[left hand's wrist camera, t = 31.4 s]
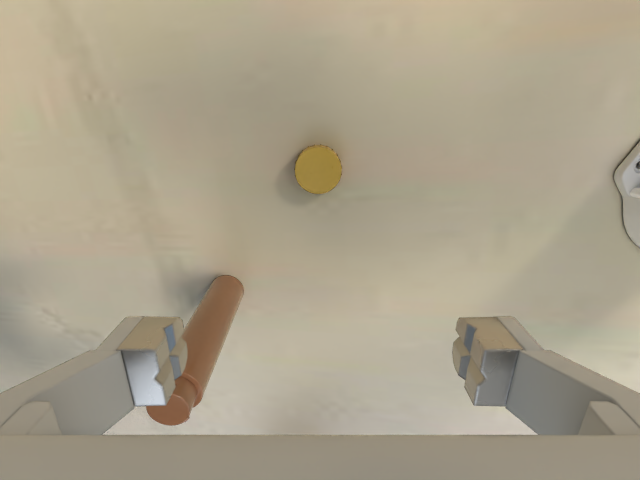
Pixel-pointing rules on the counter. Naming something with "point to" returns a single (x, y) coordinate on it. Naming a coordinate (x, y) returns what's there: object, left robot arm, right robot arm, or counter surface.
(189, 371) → the bottle
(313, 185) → the lid
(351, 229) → the counter surface
